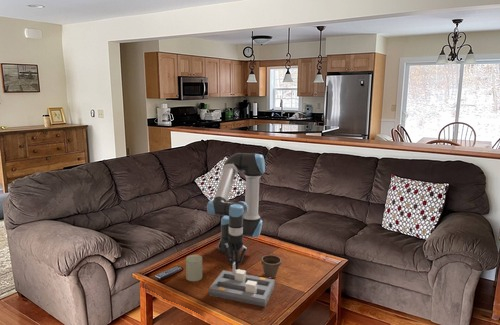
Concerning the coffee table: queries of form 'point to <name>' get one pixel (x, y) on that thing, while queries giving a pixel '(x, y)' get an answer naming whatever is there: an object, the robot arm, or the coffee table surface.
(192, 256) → the can
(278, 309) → the coffee table surface
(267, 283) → the switch bank
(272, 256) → the flower pot
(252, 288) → the tab
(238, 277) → the tab
